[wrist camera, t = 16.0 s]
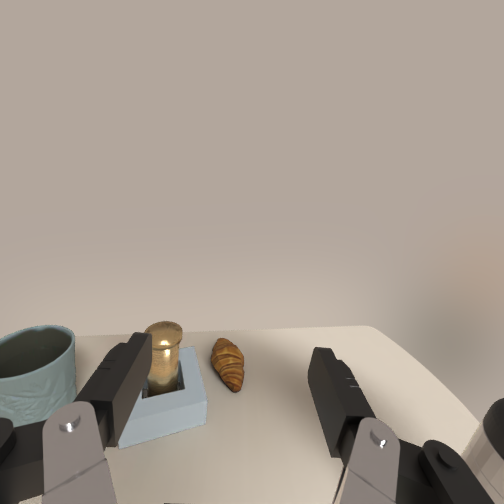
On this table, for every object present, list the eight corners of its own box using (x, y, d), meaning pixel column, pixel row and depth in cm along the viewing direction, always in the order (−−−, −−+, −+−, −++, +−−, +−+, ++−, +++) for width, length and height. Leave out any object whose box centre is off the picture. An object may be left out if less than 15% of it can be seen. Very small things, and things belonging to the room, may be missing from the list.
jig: (192, 366, 48) (193, 346, 47) (205, 424, 38) (207, 400, 37) (125, 379, 44) (124, 357, 42) (118, 449, 33) (117, 423, 32)
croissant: (204, 346, 54) (205, 328, 53) (233, 342, 57) (235, 324, 55) (217, 399, 43) (220, 378, 41) (253, 391, 45) (257, 370, 43)
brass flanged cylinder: (177, 384, 44) (180, 319, 40) (181, 411, 40) (184, 341, 35) (145, 391, 42) (143, 323, 38) (145, 421, 37) (143, 347, 33)
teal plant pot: (78, 374, 44) (71, 317, 40) (86, 420, 36) (78, 357, 32) (-3, 403, 37) (-21, 338, 33) (-12, 466, 30) (-37, 393, 26)
